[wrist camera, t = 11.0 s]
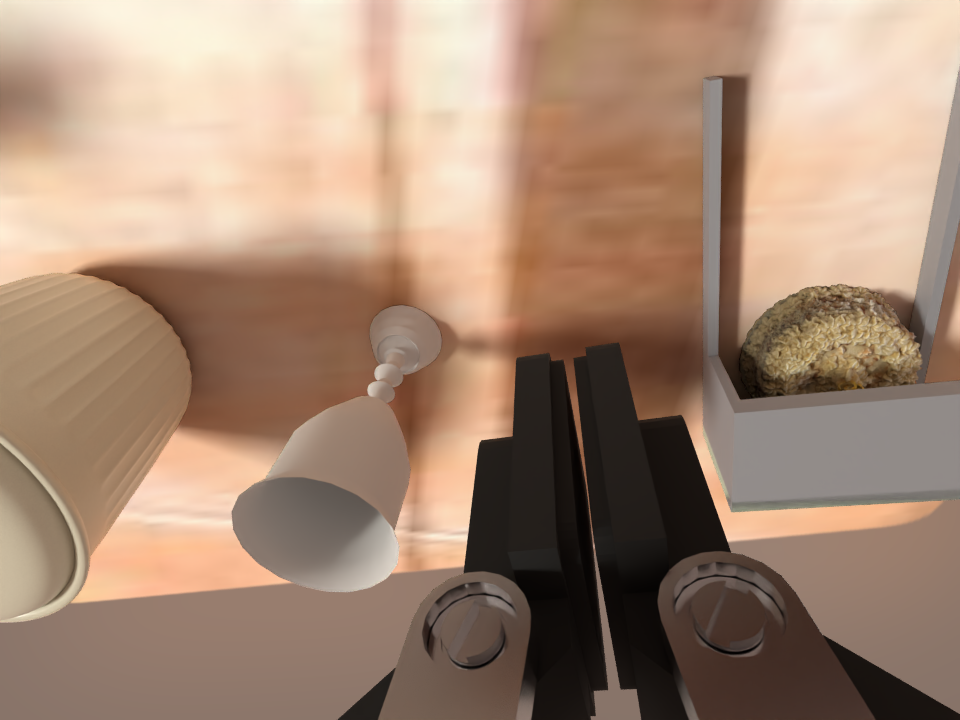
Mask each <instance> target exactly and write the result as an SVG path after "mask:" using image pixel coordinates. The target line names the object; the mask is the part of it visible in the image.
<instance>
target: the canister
mask: <svg viewBox="0 0 960 720" xmlns="http://www.w3.org/2000/svg"><path fill="white" fill-rule="evenodd" d="M191 381H192V373H191V371H190V362H189V360H188V358H187V356H186V350H185V348H184V347H183V346H182V344H181V341H180V337H179V336H177V335H176V334H175V332H174V331H173V327H172V326H171V325H169V324H168V323H167V322H166V320H165V319H164V318H163V315H161V314H159V313H158V312H157V311H156V310H155V309H154V308H153V306H152V305H150V304H148V303H146V302H145V301H144V300H142V299H141V297H140V296H138V295H135V294H133V293H131V292H129V291H128V289H126V288H124V287H120V286H117V285H115V284H114V283H113V282H111V281H107V280H101V279H99V278H97V277H94V276H84V275H81V274H75V273H70V274H63V273H53V274H47V275H42V276H34V277H29V278H25V279H21V280H18V281H15V282H11V283H8V284H5V285H2V286H0V623H7V622H8V623H9V622H22V621H29V620H34V619H38V618H42V617H45V616H48V615H50V614H53V613H55V612H57V611H59V610H60V609H62V608H64V607H65V606H66V605H68V604H69V603H70V602H71V601H72V600H73V599H74V598H75V597H76V596H77V595H78V593H79V592H80V591H81V589H82V587H83V585H84V583H85V581H86V578H87V575H88V571H89V566H90V556H91V555H92V553H93V552H94V551H95V549H96V548H97V546H98V545H99V544H100V542H101V541H102V539H103V538H104V537H105V535H106V534H107V532H108V531H109V529H110V528H111V526H112V525H113V523H114V522H115V520H116V519H117V517H118V516H119V514H120V513H121V512H122V510H123V509H124V507H125V506H126V504H127V503H128V501H129V500H130V498H131V497H132V495H133V494H134V493H135V491H136V490H137V488H138V487H139V485H140V484H141V482H142V481H143V479H144V478H145V476H146V475H147V473H148V472H149V470H150V469H151V467H152V466H153V464H154V463H155V461H156V460H157V458H158V457H159V455H160V454H161V452H162V450H163V449H164V447H165V446H166V444H167V443H168V441H169V439H170V438H171V436H172V435H173V433H174V431H175V430H176V428H177V427H178V425H179V423H180V421H181V419H182V417H183V415H184V413H185V411H186V409H187V406H188V403H189V397H190V394H191V389H192V386H191Z"/></svg>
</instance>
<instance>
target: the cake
mask: <svg viewBox="0 0 960 720" xmlns="http://www.w3.org/2000/svg"><path fill="white" fill-rule="evenodd" d="M893 310H894V309H893V308H892V307H890V305H889V304H887V303H885V300H884V298H883V297H882V298H881V294H877V293H876V292H874V293H872V294H871V293H870V292H869V290H868V289H866V288H863V287H855V288H849V287H848V286H847V285H842V284H838V285H837V286H833V285H831V286H830V288H829V287H827V286H824V287H818V286H815V287H811V288H808V287H807V288H805V289H802V290H800V291H799V293H796V294H792V295H789V296H788V297H787V298H786V299H783V300H780V301H778V302H777V303H775V304H774V306H773V307H772V308H770V309H767V311H766V312H764V313H763V315H762V316H761V317H760V318H759V319H758V320H756V322H755V324H754V326H753V328H752V329H751V330H750V331H749V332H748V333H747V338H746V341H745V343H744V345H743V347H742V353H741V358H740V359H739V360H740V364H739V365H740V368H739V370H740V371H741V375H742V377H741V378H742V379H741V380H742V381H743V383H744V384H745V386H746V389H745V390H747V391H748V393H751V396H752V398H753V399H755V398H767V397H778V396H789V395H800V394H812V393H823V392H834V391H845V390H857V389H868V388H879V387H890V386H902V385H913V384H917V383H916V380H918V376H917V373H916V372H917V371H918V370H921V369H922V368H921V367H920V365H921V364H922V359H921V354H920V352H919V350H918V347H919V346H920V344H919V343H916V342H914V338H915V337H916V336H914V333H913V332H912V333H911V332H909V331H908V330H907V329H906V328H905V326H904V325H903V324H901V323H900V320H899V319H898V317H897V313H896V311H894V312H893Z"/></svg>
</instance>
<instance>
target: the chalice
mask: <svg viewBox="0 0 960 720" xmlns="http://www.w3.org/2000/svg"><path fill="white" fill-rule="evenodd" d="M369 337H370V341H371V345H372V350H373V353H374V357H375V358H376V360H377V362H378V363H379V364H380V365H379V366H378V367H376V369H375V373H374V375H375V378H376V380H377V381H375V382H372V383H371V384H370V385H369V386H368V394H369V396H359V397H356V398H353V399H351V400H348V401H345V402H343V403H340V404H338V405H335V406H332V407H330V408H327V409H325V410H324V411H322V412H321V413H319V414H318V415H316V416H314V417H313V418H311V419H310V420H308V421H306V422H305V423H304V424H303V425H301V426H300V427H299V428H298V429H296V430H295V431H294V433H293V434H292V436H291V437H290V439H289V441H288V442H287V444H286V445H285V447H284V449H283V450H282V452H281V454H280V455H279V457H278V458H277V460H276V462H275V463H274V465H273V466H272V468H271V470H270V471H269V473H268V475H267V476H266V478H265V479H264V480H262V481H259V482H257V483H255V484H254V485H252V486H251V487H250V488H248V489H247V490H246V491H244V492H243V493H242V494H241V495H239V497H238V499H237V501H236V503H235V505H234V508H233V510H232V521H233V530H234V532H235V534H236V536H237V538H238V540H239V541H240V543H241V545H242V547H243V548H244V549H245V550H246V551H247V552H248V553H249V554H250V555H251V556H252V558H253V559H254V560H255V561H256V562H257V563H258V564H260V565H261V566H263V567H264V568H266V569H268V570H269V571H271V572H272V573H274V574H275V575H277V576H278V577H280V578H283V579H285V580H288V581H290V582H293V583H295V584H298V585H300V586H303V587H308V588H312V589H317V590H322V591H328V592H329V591H330V592H333V591H334V592H352V591H356V590H361V589H366V588H370V587H372V586H374V585H376V584H378V583H379V582H381V581H383V580H385V579H386V578H387V577H388V576H389V575H390V573H391V572H392V571H393V569H394V568H395V567H396V565H397V562H398V554H399V544H398V541H397V538H396V535H395V532H394V530H395V527H396V524H397V520H398V517H399V514H400V511H401V507H402V504H403V501H404V497H405V494H406V491H407V488H408V484H409V478H410V470H411V469H410V464H409V458H408V452H407V447H406V443H405V440H404V436H403V433H402V431H401V428H400V426H399V423H398V421H397V418H396V416H395V414H394V411H393V410H392V409H391V407H390V406H389V405H388V404H386V403H389V402H391V401H392V400H393V399H394V397H395V392H394V389H393V388H392V387H396V386H399V385H400V384H401V383H402V381H403V375H405V374H411V373H414V372H417V371H418V370H420V369H422V368H423V367H425V366H428V365H429V364H430V363H432V362H433V361H434V360H435V359H436V358H437V356H438V354H439V353H440V351H441V345H442V338H441V333H440V330H439V328H438V326H437V325H436V323H435V321H434V320H433V319H432V318H431V317H430V316H429V315H427V314H426V313H425V312H423V311H421V310H419V309H417V308H415V307H410V306H405V305H400V306H391V307H389V308H386V309H384V310H382V311H381V312H380V313H379V314H378V315H376V316H375V317H374V319H373V321H372V323H371V325H370V334H369Z"/></svg>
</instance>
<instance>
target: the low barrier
mask: <svg viewBox="0 0 960 720" xmlns="http://www.w3.org/2000/svg"><path fill="white" fill-rule="evenodd" d="M721 140H722V78H719V77H717V76H712V77H707V78H703V435H704V438H705V441H706V444H707V446H708V449H709V452H710V455H711V458H712V460H713V463H714V466H715V469H716V471H717V474H718V477H719V480H720V482H721V485H722V488H723V491H724V493H725V496H726V499H727V502H728V504H729V507H730V510H731V512H745V511H763V510H781V509H798V508H816V507H834V506H852V505H870V504H888V503H905V502H923V501H941V500H958V499H960V380H958V381H947V382H935V383H924V381H925V377H926V372H927V368H928V363H929V358H930V354H931V349H932V345H933V340H934V335H935V331H936V326H937V322H938V317H939V312H940V308H941V303H942V299H943V294H944V289H945V285H946V280H947V275H948V271H949V266H950V262H951V257H952V252H953V248H954V243H955V239H956V234H957V229H958V225H959V220H960V68H959V73H958V78H957V83H956V89H955V94H954V99H953V104H952V109H951V115H950V120H949V125H948V130H947V135H946V140H945V146H944V151H943V156H942V161H941V166H940V172H939V177H938V182H937V187H936V192H935V198H934V203H933V208H932V213H931V218H930V224H929V229H928V234H927V239H926V244H925V250H924V255H923V260H922V265H921V270H920V276H919V281H918V286H917V291H916V296H915V302H914V307H913V312H912V317H911V322H910V327H909V332H911V333H912V332H913V333H914V336H916V337H915V338H914V342H916V343H919V344H920V346H919V347H918V350H919V352H920V354H921V359H922V364H921V365H920V367H921V368H922V369H921V370H918V371H917V372H916V373H917V376H918V380H916V383H917V384H913V385H902V386H890V387H879V388H868V389H857V390H845V391H834V392H823V393H812V394H800V395H789V396H778V397H767V398H755V399H744V400H740V398H739V396H738V394H737V392H736V390H735V388H734V386H733V384H732V382H731V380H730V378H729V376H728V374H727V372H726V370H725V368H724V366H723V364H722V362H721V360H720V358H719V356H718V338H719V272H720V206H721Z"/></svg>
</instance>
